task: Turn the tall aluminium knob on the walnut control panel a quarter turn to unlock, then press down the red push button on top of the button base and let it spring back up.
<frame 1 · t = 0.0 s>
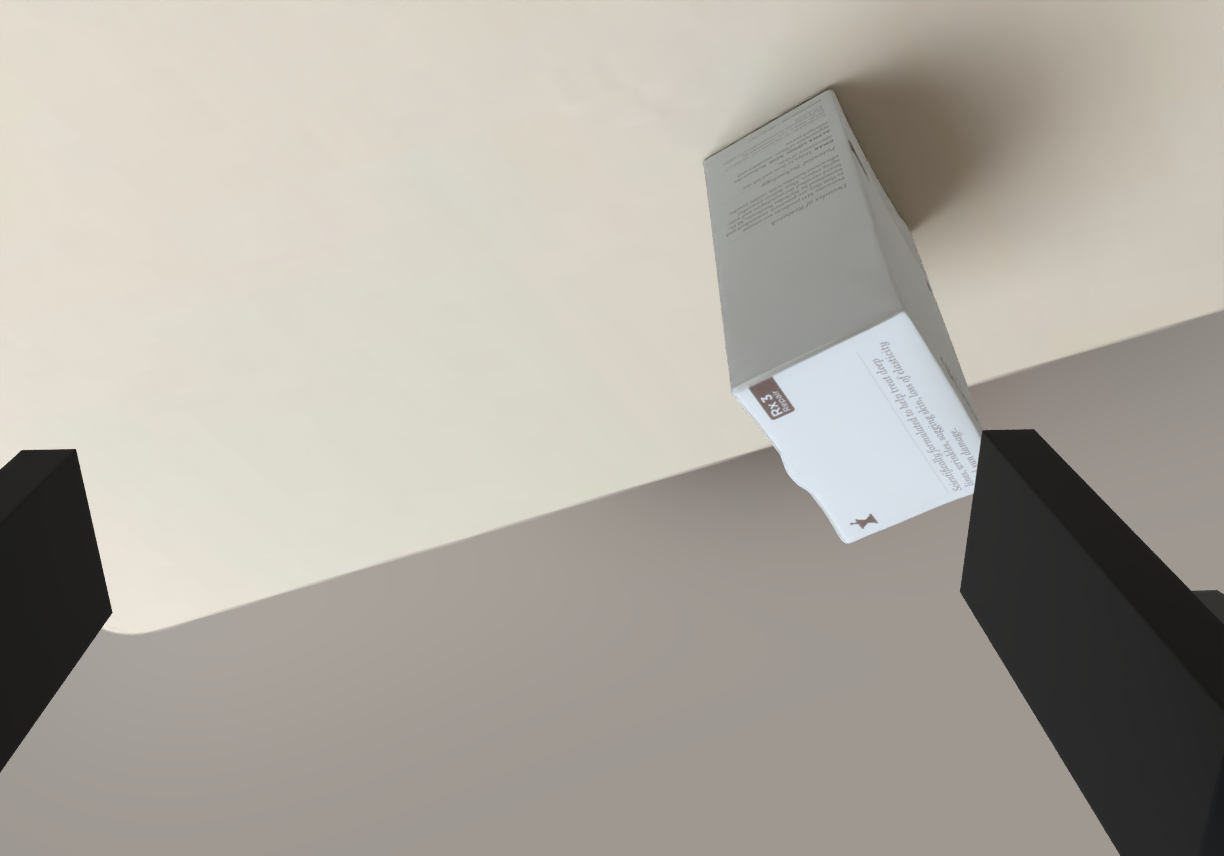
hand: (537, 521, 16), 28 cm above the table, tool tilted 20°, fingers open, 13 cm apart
cosmetic box: (802, 193, 44), on the table
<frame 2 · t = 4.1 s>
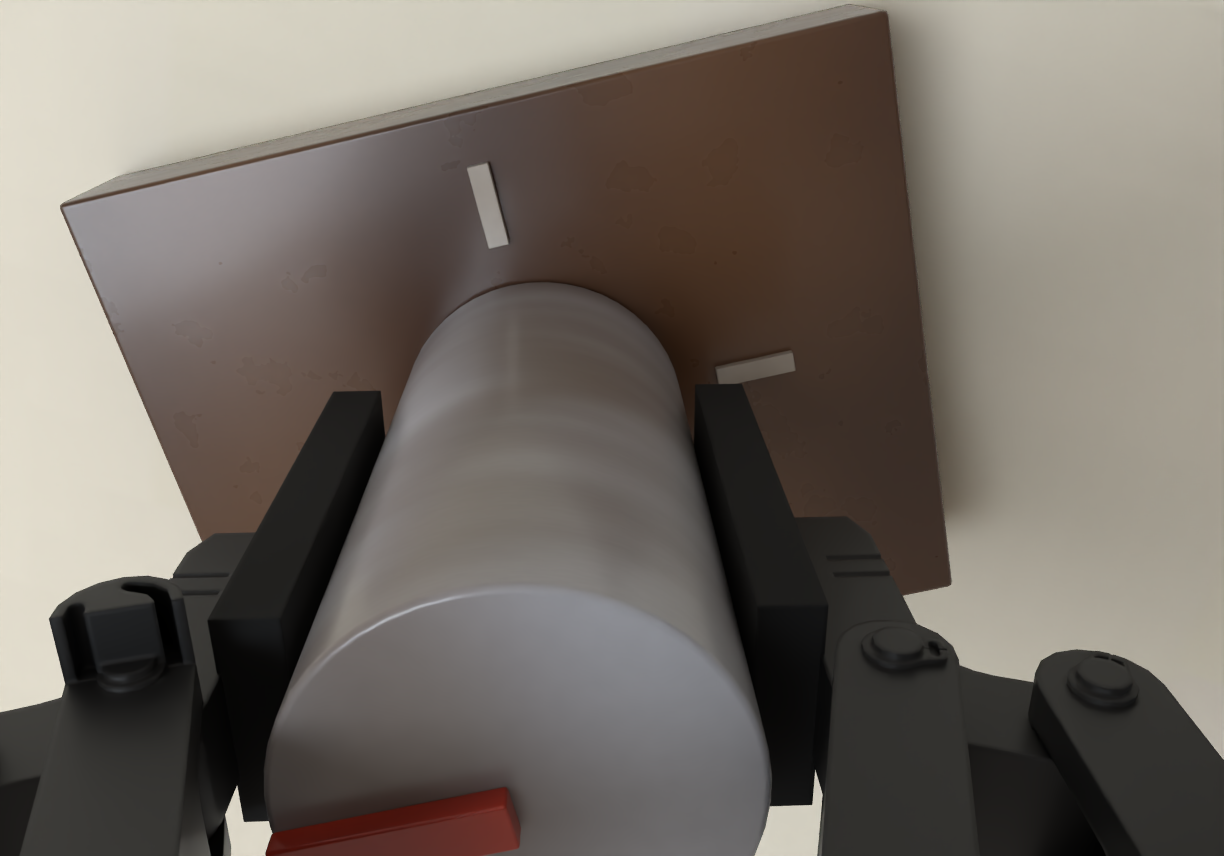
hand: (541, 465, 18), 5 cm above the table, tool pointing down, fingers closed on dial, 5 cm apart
dial: (535, 556, 15), point 8 cm above the table, hinge at 0.0°, touching gripper
control panel: (547, 365, 22), on the table
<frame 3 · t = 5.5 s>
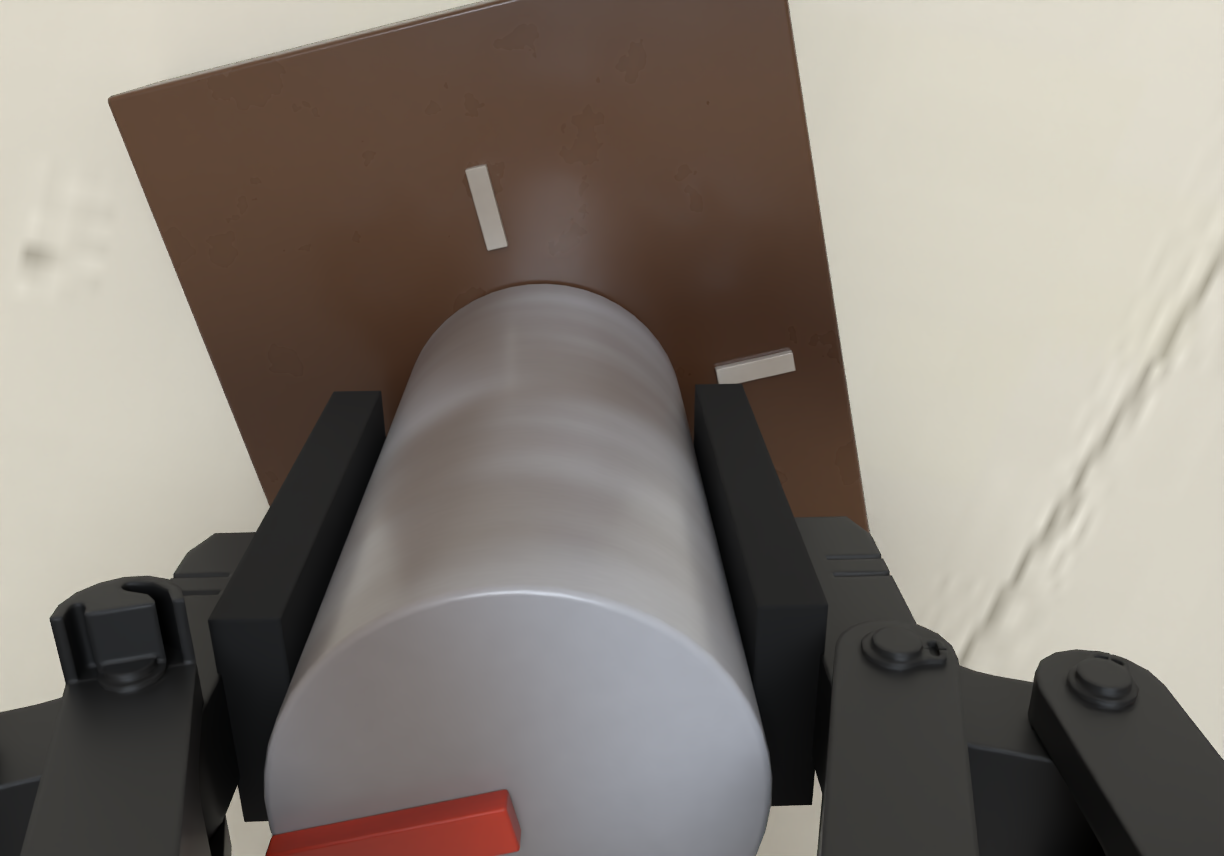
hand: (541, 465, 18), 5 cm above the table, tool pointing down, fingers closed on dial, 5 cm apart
dial: (535, 558, 15), point 8 cm above the table, hinge at 89.6°, touching gripper
control panel: (547, 367, 22), on the table
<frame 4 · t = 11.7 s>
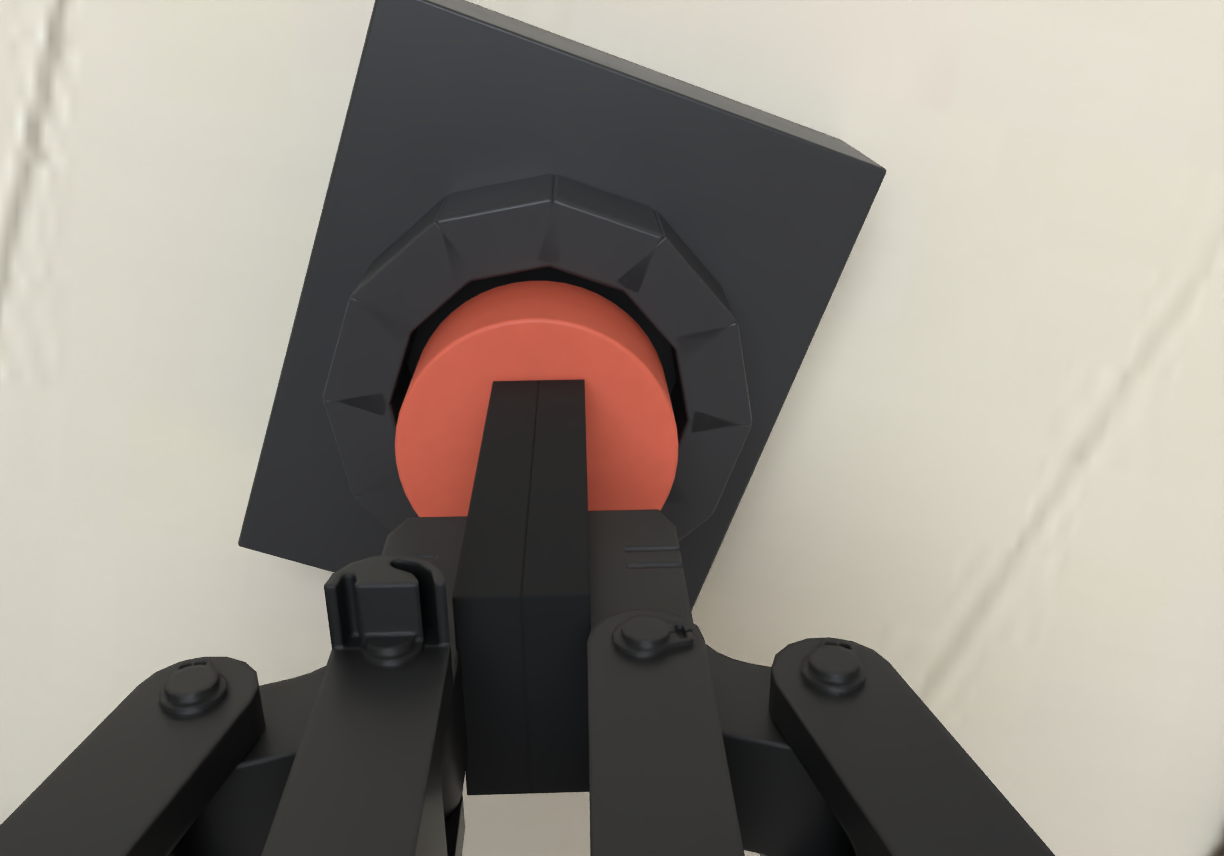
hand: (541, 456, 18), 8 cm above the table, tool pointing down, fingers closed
button base: (546, 315, 26), on the table
red push button: (539, 427, 20), point 7 cm above the table, slide at 0.0 cm, touching gripper
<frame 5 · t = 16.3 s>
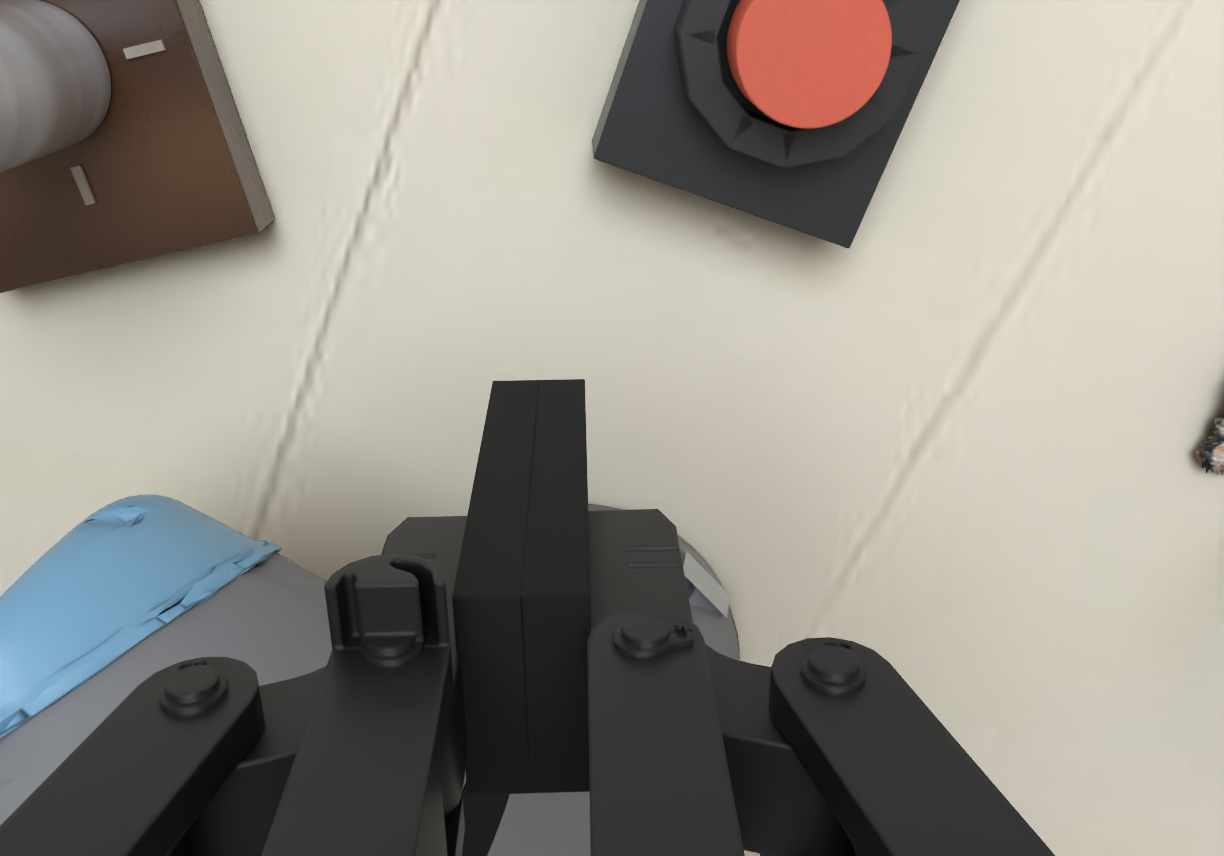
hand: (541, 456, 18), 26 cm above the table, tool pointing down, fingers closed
button base: (771, 31, 41), on the table
control panel: (69, 68, 40), on the table
red push button: (806, 45, 34), point 7 cm above the table, slide at 0.1 cm
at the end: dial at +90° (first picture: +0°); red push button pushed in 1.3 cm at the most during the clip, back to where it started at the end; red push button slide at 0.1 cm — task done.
